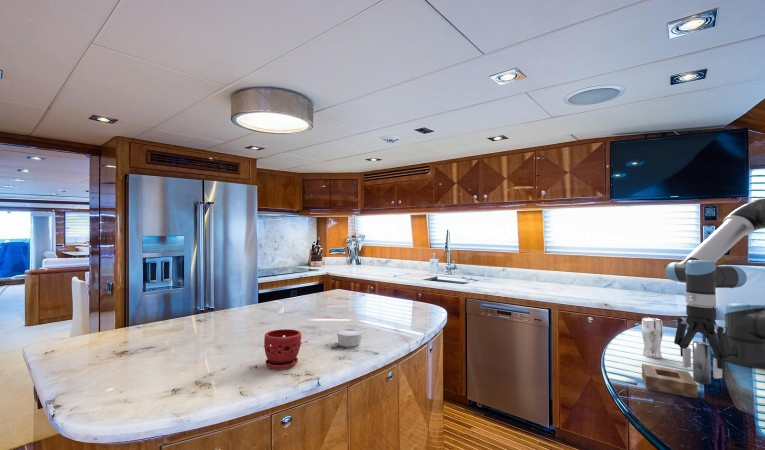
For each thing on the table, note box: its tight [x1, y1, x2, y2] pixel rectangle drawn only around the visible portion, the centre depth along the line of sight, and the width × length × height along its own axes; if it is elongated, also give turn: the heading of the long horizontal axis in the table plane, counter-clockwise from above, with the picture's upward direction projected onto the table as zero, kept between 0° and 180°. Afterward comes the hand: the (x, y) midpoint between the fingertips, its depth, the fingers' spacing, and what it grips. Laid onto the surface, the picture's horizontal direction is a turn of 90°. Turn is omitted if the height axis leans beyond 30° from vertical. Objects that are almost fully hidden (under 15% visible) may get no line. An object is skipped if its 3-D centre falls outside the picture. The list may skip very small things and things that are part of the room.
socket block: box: [641, 363, 698, 399], centre depth 114 cm, size 12×12×4 cm
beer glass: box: [641, 317, 664, 359], centre depth 143 cm, size 7×7×15 cm
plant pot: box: [263, 328, 302, 371], centre depth 128 cm, size 13×13×12 cm
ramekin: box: [336, 328, 363, 348], centre depth 154 cm, size 11×11×5 cm
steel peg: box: [692, 340, 712, 386], centre depth 118 cm, size 4×4×13 cm
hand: (701, 372), depth 117 cm, fingers open, 9 cm apart
